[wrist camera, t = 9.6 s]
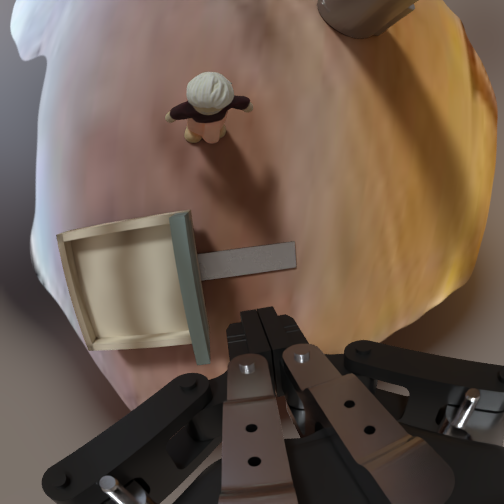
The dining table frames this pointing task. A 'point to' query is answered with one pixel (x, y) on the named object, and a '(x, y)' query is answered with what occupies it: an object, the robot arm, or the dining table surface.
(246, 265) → the strip
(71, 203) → the dining table surface
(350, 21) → the robot arm
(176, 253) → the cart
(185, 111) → the grandmother figurine
